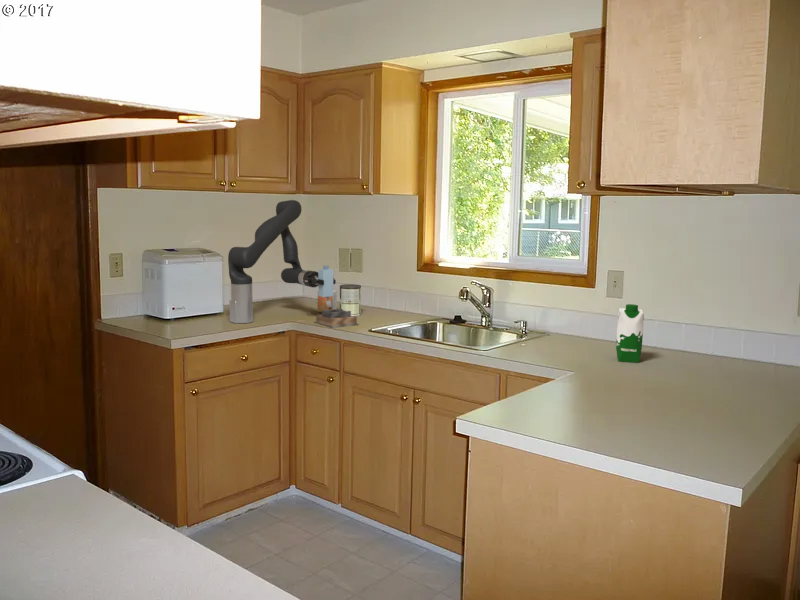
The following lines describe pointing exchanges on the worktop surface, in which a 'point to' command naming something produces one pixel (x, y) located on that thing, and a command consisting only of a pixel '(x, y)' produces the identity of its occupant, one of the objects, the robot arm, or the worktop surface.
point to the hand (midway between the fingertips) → (329, 282)
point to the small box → (327, 302)
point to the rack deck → (336, 318)
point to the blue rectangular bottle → (325, 281)
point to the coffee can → (351, 298)
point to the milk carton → (629, 333)
